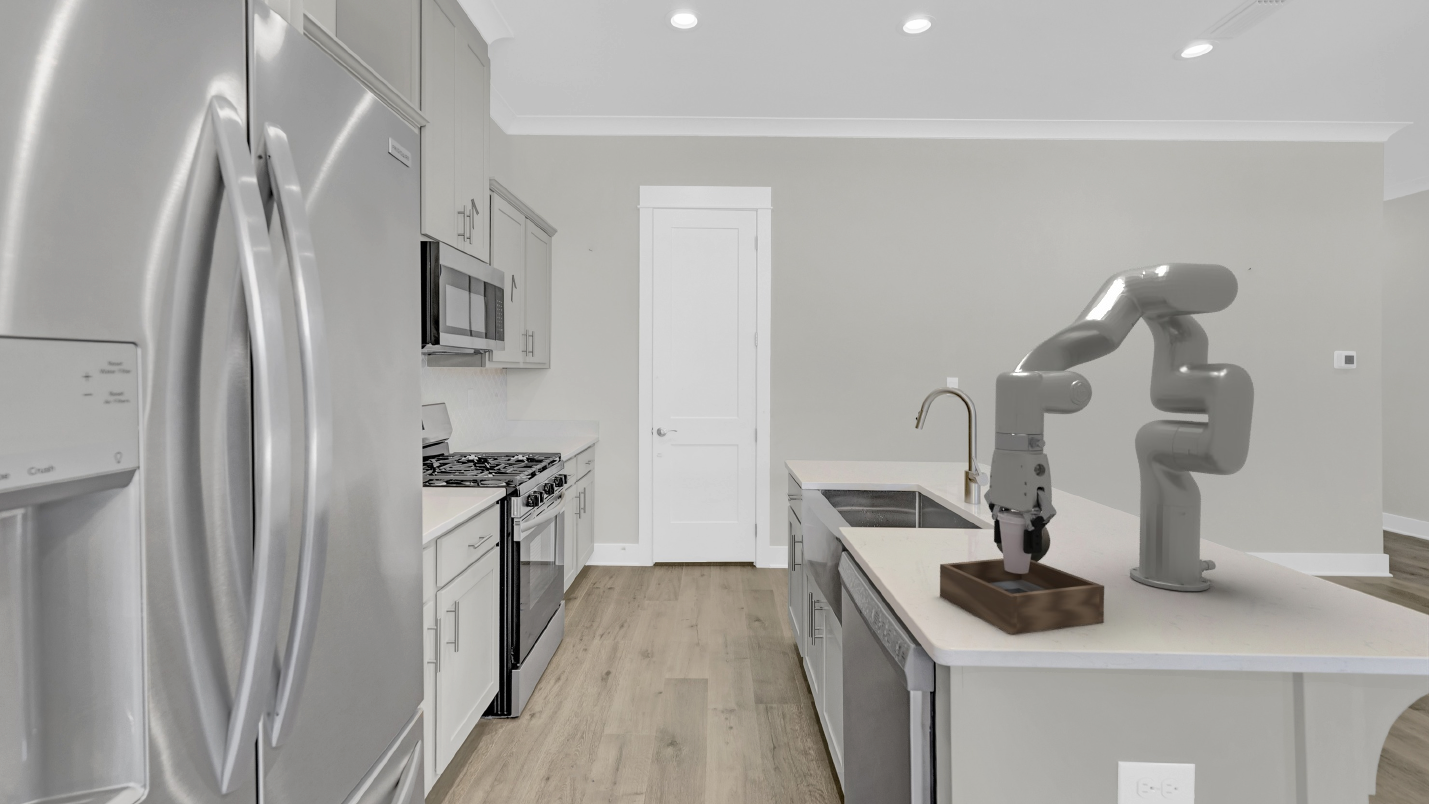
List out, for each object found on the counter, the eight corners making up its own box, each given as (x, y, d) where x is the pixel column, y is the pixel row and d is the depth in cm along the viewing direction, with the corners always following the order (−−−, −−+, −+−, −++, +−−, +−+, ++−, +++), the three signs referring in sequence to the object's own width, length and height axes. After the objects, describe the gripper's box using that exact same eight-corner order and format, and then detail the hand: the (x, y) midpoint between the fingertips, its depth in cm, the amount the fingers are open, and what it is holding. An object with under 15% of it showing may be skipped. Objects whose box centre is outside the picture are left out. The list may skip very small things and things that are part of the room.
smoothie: (1042, 577, 104) (1044, 493, 104) (1001, 574, 105) (1002, 492, 105) (1030, 566, 110) (1032, 487, 110) (992, 563, 112) (993, 485, 111)
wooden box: (1021, 587, 119) (1022, 556, 119) (1103, 622, 102) (1104, 585, 102) (939, 596, 114) (940, 564, 114) (1011, 634, 97) (1011, 596, 97)
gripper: (1078, 448, 100) (1076, 559, 100) (1001, 439, 117) (999, 534, 117) (1039, 449, 98) (1037, 563, 98) (966, 439, 115) (965, 537, 115)
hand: (1017, 546), depth 108 cm, fingers closed on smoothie, 6 cm apart
